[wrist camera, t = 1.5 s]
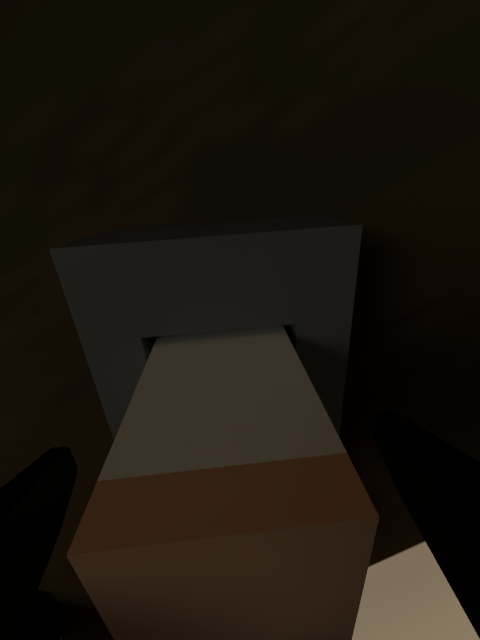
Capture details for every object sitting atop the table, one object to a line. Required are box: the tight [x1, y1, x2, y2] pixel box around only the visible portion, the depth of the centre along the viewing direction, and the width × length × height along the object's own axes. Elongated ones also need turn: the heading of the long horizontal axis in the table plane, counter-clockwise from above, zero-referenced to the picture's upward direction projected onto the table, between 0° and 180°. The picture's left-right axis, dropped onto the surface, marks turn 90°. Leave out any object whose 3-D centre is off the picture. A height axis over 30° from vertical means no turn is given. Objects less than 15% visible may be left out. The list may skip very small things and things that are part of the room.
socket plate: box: [49, 215, 363, 440], centre depth 14 cm, size 8×22×4 cm, turn 4°
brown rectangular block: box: [67, 325, 379, 640], centre depth 9 cm, size 4×5×9 cm
